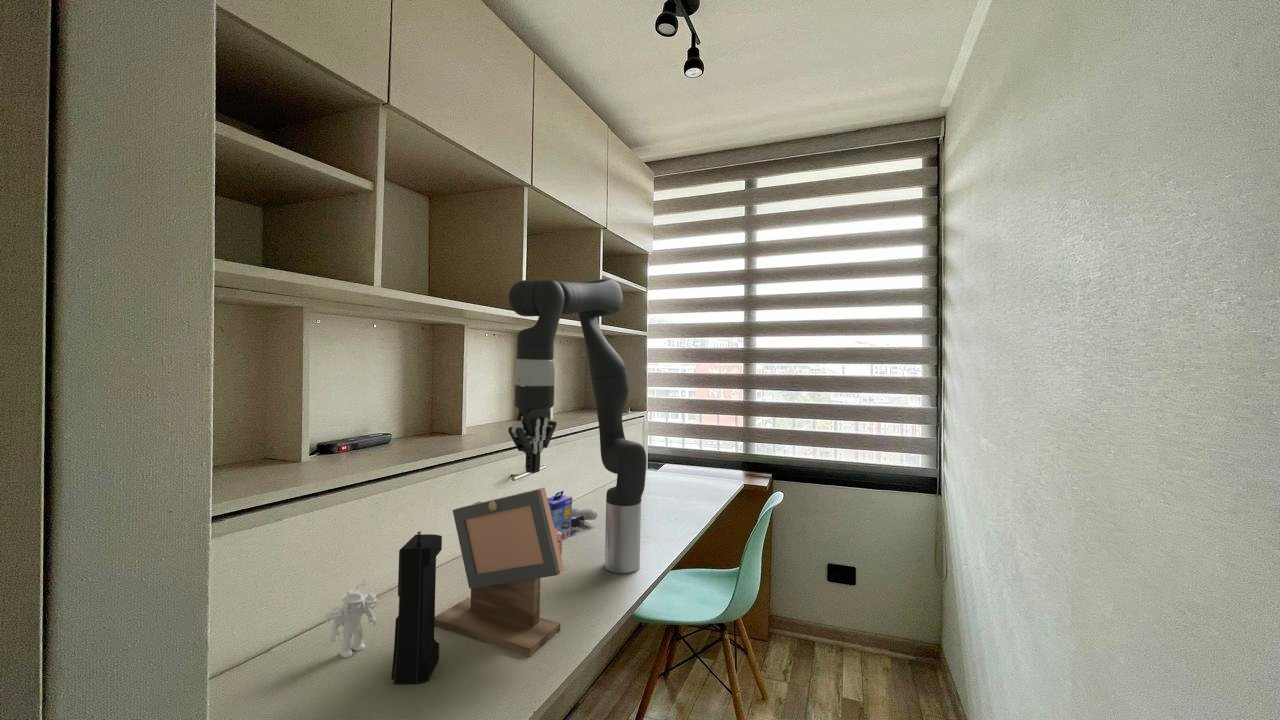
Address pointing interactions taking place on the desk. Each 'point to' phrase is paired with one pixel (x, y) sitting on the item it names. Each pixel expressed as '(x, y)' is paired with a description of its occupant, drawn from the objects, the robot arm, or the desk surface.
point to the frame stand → (502, 617)
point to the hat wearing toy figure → (352, 619)
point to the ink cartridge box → (561, 513)
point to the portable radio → (416, 611)
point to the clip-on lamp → (582, 516)
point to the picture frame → (508, 539)
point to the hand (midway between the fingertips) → (532, 472)
